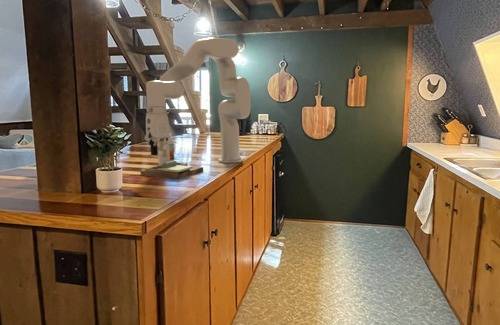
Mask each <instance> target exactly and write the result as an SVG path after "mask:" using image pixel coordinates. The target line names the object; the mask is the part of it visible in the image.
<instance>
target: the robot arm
mask: <svg viewBox="0 0 500 325" xmlns="http://www.w3.org/2000/svg"><path fill="white" fill-rule="evenodd" d="M238 53H239V45H238V43H237V41H235V40H234V39H232V38H222V37H220V38H219V37H207V38H201V39H197V40H195V41H194V42H193V44H192V45H191V46H190V47H189V48H188V50H187V51H186V53H185V54H183V56H182V57H181V59H180V60H179V61H178V62H176V63H175V64H174V65H172V67H169V69H168V70H167V71H165V72H164V73H163V74H162V76H160V78H159V79H158V80H149V81H147V82H146V84H145V91H146V92H145V93H146V112H147V113H146V114H147V115H146V117H145V118H146V120H145V136H144V140H145V141H146V142H147V143H148V145H149V146H150V156H151V155H157V146H156V141H157V140H158V139H159V140H162V139H163V140H166V144H167V141H168V139H169V138H170V134H171V128H170V127H171V126H170V120H169V116H168V114H167V109H166V108H167V107H166V100H177V99H179V98H181V97H183V95H184V93H185V88H184V86H183V84H182V83H181V82H182V81H184V80H186V79H188V78H190V77H192V76H193V75H195V74H196V73H197V72H198V71H199V69H200V67H202V65H203V64H204V63H205V61H206V59H212V60H213V61H214V62H215V64H216V66H217V68H218V77H219V92H220V94H221V95H222V96H223V97H225V98H226V97H227V98H234V99H224V100H221V101H220V103H218V107H217V113H218V117H219V122H220V123H219V124H220V125H219V126H220V152H221V153H220V156H221V157H220V158H218V159H217V160H218V162H219V163H223V164H235V163H241V162H243V158H242V157H241V156H243V155H244V153H243V152H242V151H240V125H239V122H238V120H243V119H247V118H248V117H249V115H250V114H251V104H252V103H251V88H250V83H249V81H248V79H247V78H246V77H243V76H237V69H236V68H237V67H236V64H235V62H234V60H233V58H235V57H236V56H237V55H238ZM169 126H170V127H169ZM153 140H154V141H153Z"/></svg>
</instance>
